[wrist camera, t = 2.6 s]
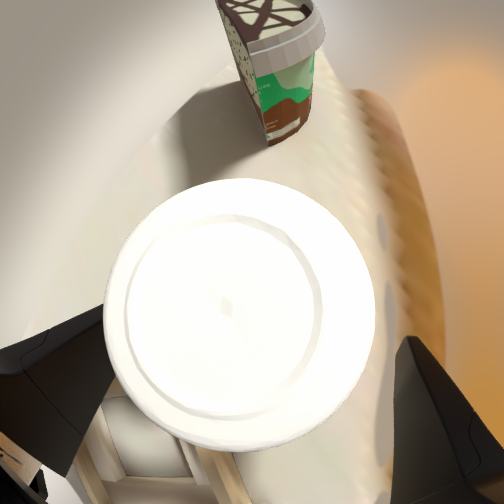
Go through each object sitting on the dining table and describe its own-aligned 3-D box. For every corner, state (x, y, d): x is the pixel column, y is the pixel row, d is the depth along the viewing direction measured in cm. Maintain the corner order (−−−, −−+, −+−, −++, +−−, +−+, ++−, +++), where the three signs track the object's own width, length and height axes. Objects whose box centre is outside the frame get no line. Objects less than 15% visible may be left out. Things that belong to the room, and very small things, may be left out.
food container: (349, 140, 19) (363, 30, 10) (274, 160, 20) (249, 48, 11) (294, 58, 23) (284, -24, 14) (237, 72, 24) (211, -9, 15)
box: (255, 510, 13) (246, 533, 10) (121, 506, 14) (101, 519, 11) (201, 361, 17) (182, 365, 14) (74, 383, 18) (49, 385, 15)
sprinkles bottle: (247, 368, 16) (101, 439, 3) (243, 296, 18) (103, 194, 5) (323, 362, 15) (388, 448, 3) (316, 288, 17) (350, 151, 4)
